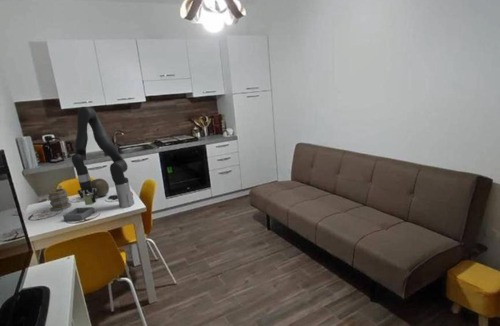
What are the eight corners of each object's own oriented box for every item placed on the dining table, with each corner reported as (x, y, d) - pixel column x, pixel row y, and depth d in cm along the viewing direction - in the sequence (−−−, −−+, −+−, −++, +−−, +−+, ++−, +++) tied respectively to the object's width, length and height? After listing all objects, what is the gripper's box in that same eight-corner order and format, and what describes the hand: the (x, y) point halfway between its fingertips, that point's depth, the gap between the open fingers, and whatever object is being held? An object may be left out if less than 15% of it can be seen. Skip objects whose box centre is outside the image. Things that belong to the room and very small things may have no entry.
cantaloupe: (107, 192, 258) (103, 175, 254) (112, 195, 248) (108, 177, 244) (89, 197, 249) (85, 180, 245) (94, 200, 239) (90, 182, 235)
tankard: (68, 209, 225) (63, 190, 222) (49, 212, 222) (44, 193, 218) (74, 200, 244) (70, 183, 240) (57, 203, 240) (52, 186, 237)
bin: (94, 212, 213) (93, 207, 212) (82, 220, 200) (80, 214, 199) (77, 213, 215) (76, 207, 214) (64, 221, 202) (62, 215, 201)
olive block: (96, 202, 220) (94, 194, 219) (92, 204, 215) (89, 196, 214) (89, 202, 221) (87, 194, 219) (85, 205, 216) (83, 197, 215)
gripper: (97, 177, 217) (102, 200, 221) (78, 179, 219) (84, 201, 222) (90, 180, 209) (96, 203, 213) (71, 182, 211) (78, 205, 215)
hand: (90, 202), depth 218 cm, fingers closed on olive block, 5 cm apart
